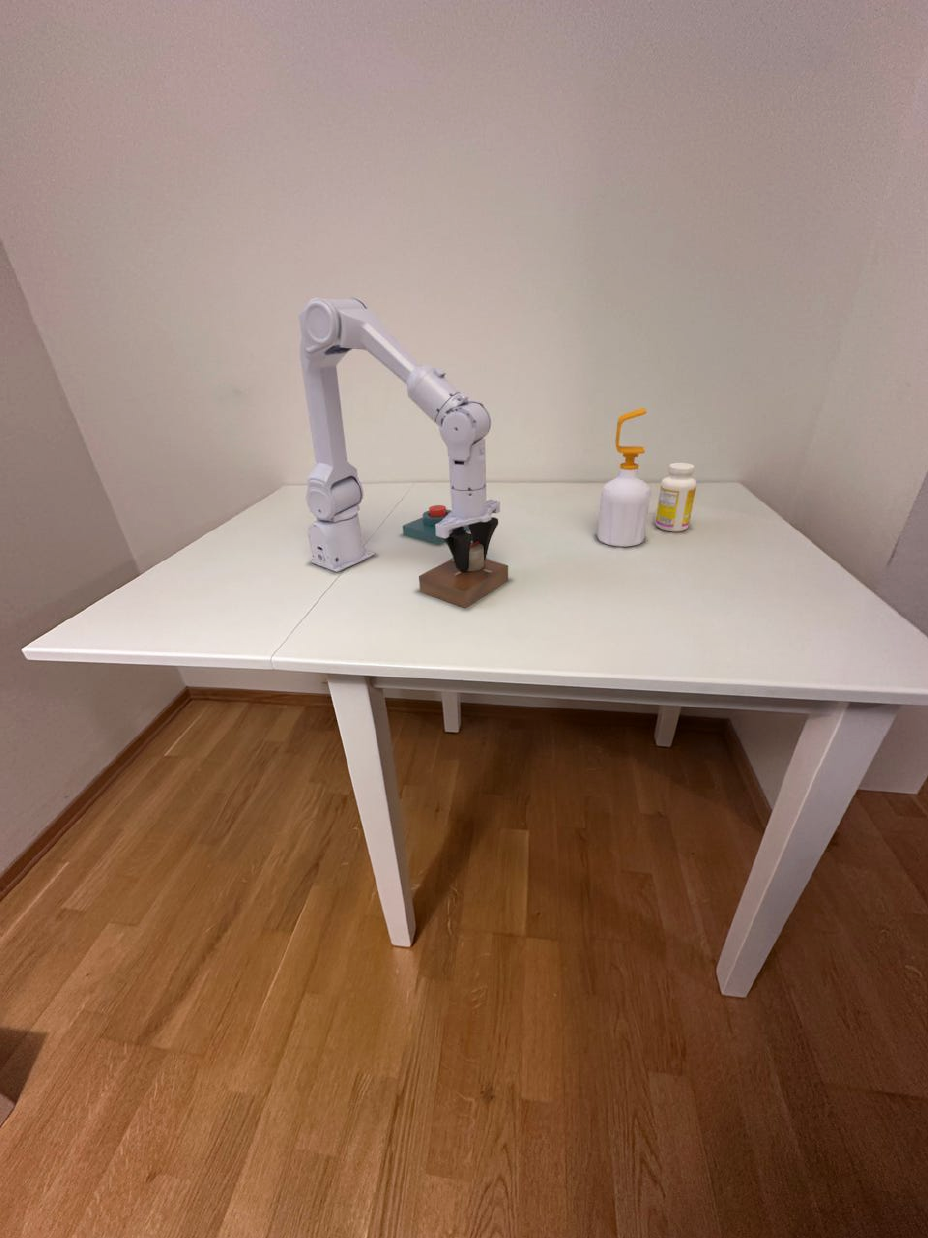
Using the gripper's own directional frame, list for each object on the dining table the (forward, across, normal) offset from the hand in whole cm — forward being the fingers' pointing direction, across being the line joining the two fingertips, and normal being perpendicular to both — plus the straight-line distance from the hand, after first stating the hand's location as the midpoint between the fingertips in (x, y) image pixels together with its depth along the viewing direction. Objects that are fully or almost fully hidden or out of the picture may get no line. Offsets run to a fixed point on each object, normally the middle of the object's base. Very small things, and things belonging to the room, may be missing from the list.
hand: (471, 563), depth 88 cm
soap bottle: (+4, +32, -13) cm, 35 cm away
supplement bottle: (+4, +44, -19) cm, 48 cm away
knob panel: (+3, -2, 0) cm, 4 cm away
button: (0, +15, +21) cm, 26 cm away
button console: (+3, +15, +21) cm, 26 cm away
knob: (0, 0, 0) cm, 0 cm away
